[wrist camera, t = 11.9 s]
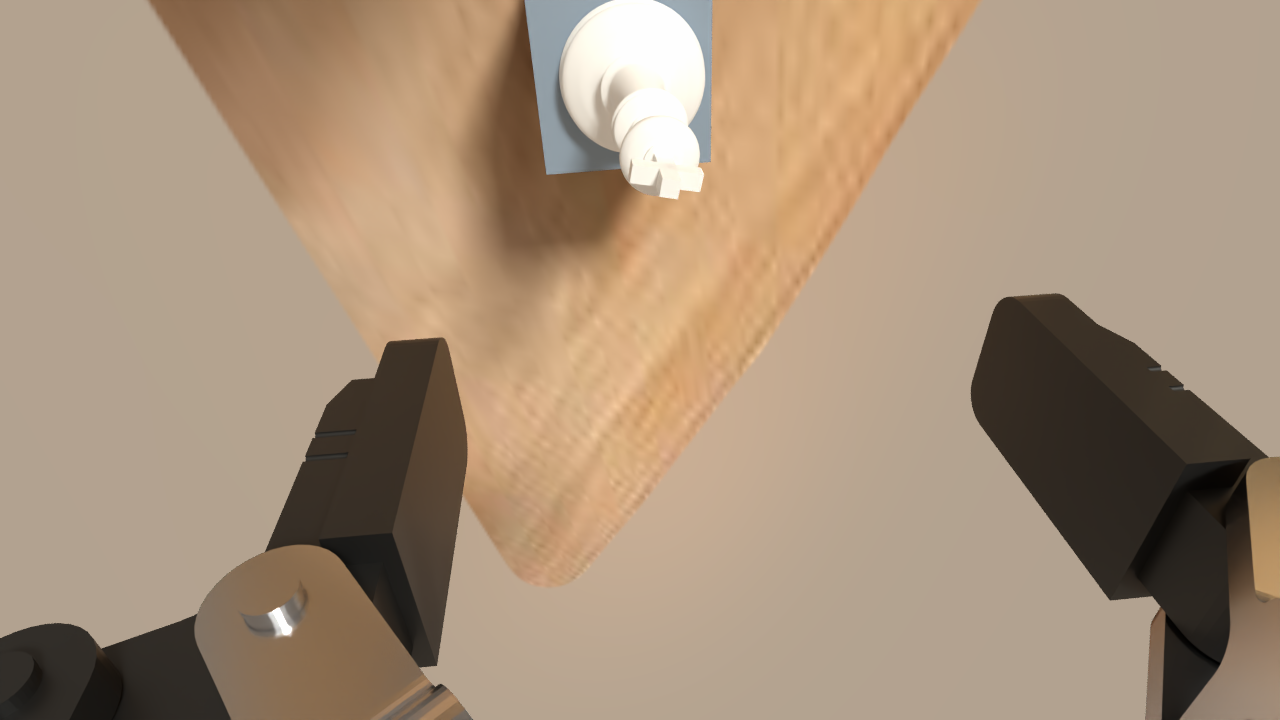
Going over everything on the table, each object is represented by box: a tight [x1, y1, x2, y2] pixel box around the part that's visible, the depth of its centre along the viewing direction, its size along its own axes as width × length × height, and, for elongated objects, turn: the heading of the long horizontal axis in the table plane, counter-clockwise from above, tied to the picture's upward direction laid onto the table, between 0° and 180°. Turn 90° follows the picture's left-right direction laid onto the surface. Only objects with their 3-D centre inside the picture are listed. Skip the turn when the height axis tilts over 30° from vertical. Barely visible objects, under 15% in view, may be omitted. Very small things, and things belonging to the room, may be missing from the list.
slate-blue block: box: [525, 0, 712, 175], centre depth 26 cm, size 6×6×4 cm
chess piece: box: [559, 0, 705, 199], centre depth 20 cm, size 5×5×10 cm
